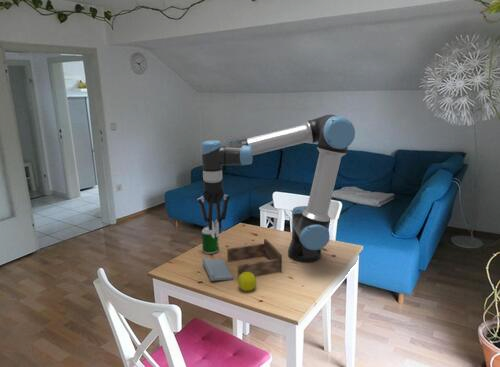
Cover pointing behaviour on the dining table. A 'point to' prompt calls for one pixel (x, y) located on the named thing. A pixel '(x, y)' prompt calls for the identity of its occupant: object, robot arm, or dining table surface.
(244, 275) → the tennis ball
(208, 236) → the soda can
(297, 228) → the robot arm
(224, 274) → the blue-grey book
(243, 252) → the crate
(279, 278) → the dining table surface
